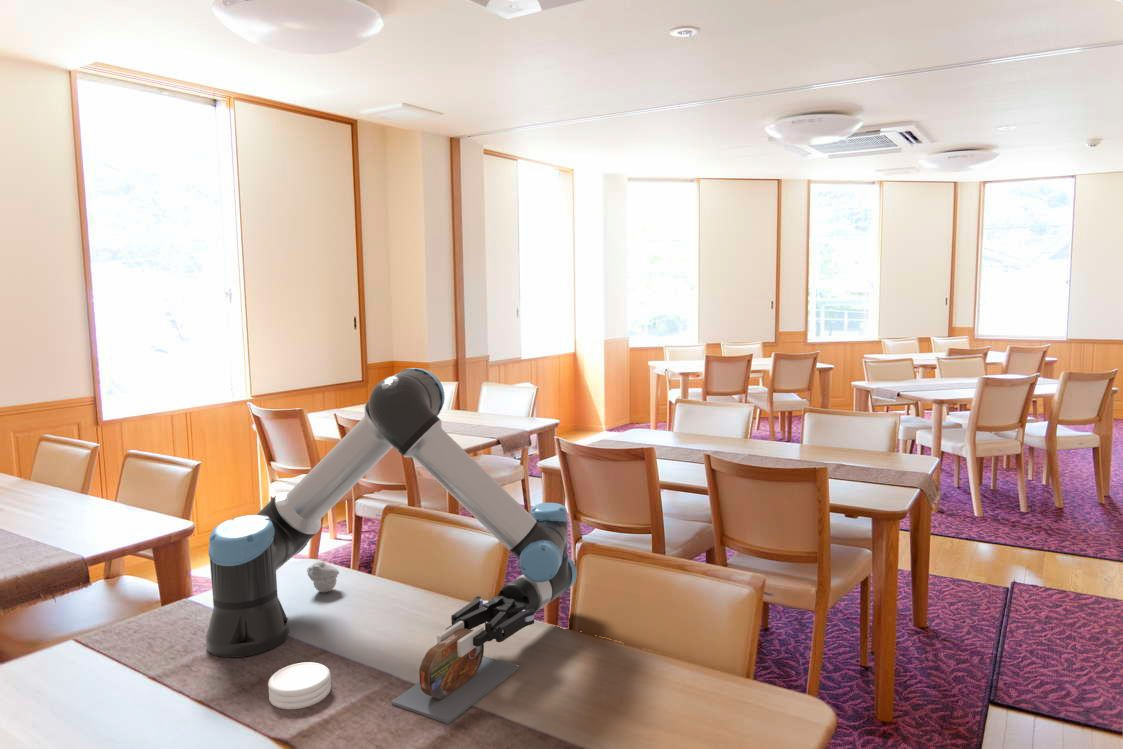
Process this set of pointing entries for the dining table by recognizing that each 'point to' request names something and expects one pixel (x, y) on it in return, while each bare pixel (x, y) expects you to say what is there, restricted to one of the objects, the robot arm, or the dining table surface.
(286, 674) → the white round stack
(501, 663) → the slate mat
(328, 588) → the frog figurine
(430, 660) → the tin
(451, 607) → the dining table surface
